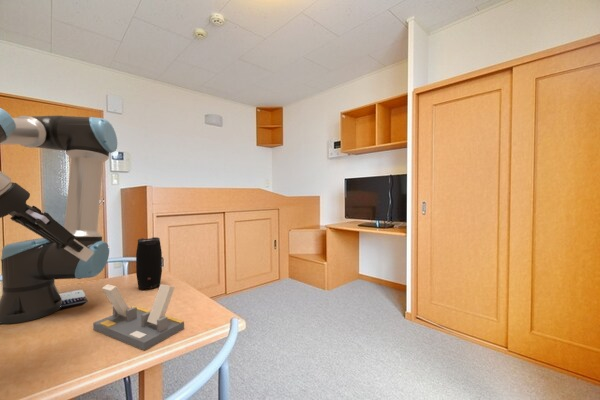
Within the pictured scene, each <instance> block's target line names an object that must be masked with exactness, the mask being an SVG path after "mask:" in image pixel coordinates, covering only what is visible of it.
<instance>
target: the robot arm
mask: <svg viewBox="0 0 600 400" xmlns="http://www.w3.org/2000/svg"><path fill="white" fill-rule="evenodd" d="M0 145H6V146H7V145H20V146H23V147H24V148H33V149H34V148H37V149H38V148H39V149H47V150H53V151H62V152H63V151H65V155H67V156H68V157H69V158H70V167H69V168H70V169H69V177H68V186H67V187H68V188H67V197H66V208H65V217H64V226H63V225H62V224H60V223H59V222H58V221H57V220H55V219H54V218H53V217H52V216H51V215H50V213H49V212H46V211H45V212H44V213H43V212H42V210H41V209H40V208H38V207H37V206H35V205H32V206H30V205H29V204H27V201H28V200H29V199H30V197H31V194H30V192H29V191H28V190H26V189H25V188H23V187H22V186H21V185H20V184H19V183H17V182H13V181H12V178H11V177H9V176H8V175H6V174H5V173H4V172H2V171H1V170H0V219H2V218H4V217H6V216H11V217H9V218H10V219H11V221H12V222H15V223H17V224H19V225H21V226H23V227H25V228H26V229H28V230H30V231H32V232H33V233H35V234H36V235H38V236H40V238H34V239H29V240H22V241H17V242H12V243H9V244H6V245H5V246H3V248H2V249H1V258H0V261H1V275H2V276H1V277H2V281H1V282H2V294H1V297H0V322H1V323H0V324H2V325H5V324H6V325H8V324H11V325H12V324H17V323H18V324H20V323H25V322H29V321H33V320H38V319H41V318H44V317H47V316H49V315H51V314H54V313H56V312H58V311H59V310H60V309H61V308H60V306H61V304H62V305H63V299H62V296H61V294H60V292H59V290H58V288H57V286H56V284H55V280H72V279H74V280H75V279H76V280H77V279H78V280H81V279H87V278H88V279H89V278H95V277H96V276H99V274H100V273H102V271H103V270H104V269H105V267H106V265H107V263H108V260H109V256H110V248H109V244H108V242H106V241H104V240H103V235H102V234H101V233H100V232H99V231H98V228H99V214H100V202H101V190H102V178H103V166H104V163H105V162H107V161H108V160H109V157H110V154H112V153H115V152H116V151H117V149H118V137H117V134H116V131H115V128H114V127H113V125H112V123H110V121H108V120H107V119H105V118H103V117H94V116H90V117H89V116H75V115H72V116H69V115H58V114H57V115H38V116H37V115H35V116H34V115H33V116H30V115H20V116H16V117H12V115H10V113H9V112H7V111H6V110H5V109H3V108H1V107H0Z"/></svg>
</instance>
